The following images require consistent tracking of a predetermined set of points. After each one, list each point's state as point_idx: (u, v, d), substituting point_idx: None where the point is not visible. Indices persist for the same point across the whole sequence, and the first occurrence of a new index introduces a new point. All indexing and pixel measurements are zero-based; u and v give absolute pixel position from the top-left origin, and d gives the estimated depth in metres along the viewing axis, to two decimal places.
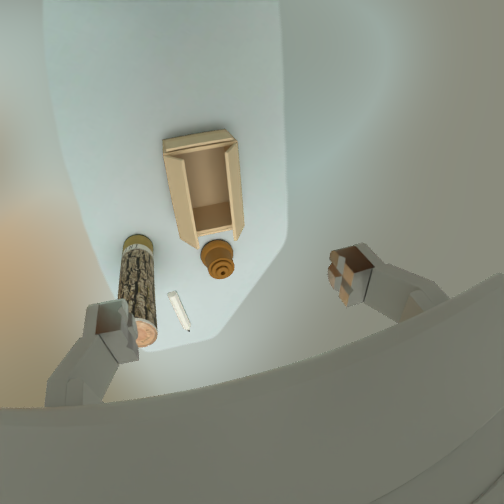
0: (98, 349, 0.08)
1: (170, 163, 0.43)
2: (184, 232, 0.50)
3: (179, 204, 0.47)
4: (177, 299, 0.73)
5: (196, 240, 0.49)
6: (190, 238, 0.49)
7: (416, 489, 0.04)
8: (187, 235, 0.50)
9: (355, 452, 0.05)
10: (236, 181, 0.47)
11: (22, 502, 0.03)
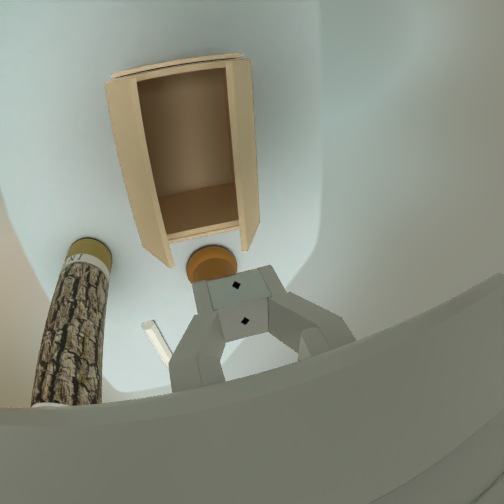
0: (216, 325, 0.09)
1: (114, 94, 0.18)
2: (146, 235, 0.25)
3: (132, 178, 0.22)
4: (157, 332, 0.48)
5: (167, 251, 0.24)
6: (156, 246, 0.25)
7: (416, 489, 0.04)
8: (151, 240, 0.25)
9: (354, 452, 0.04)
10: (248, 132, 0.22)
11: (22, 502, 0.03)
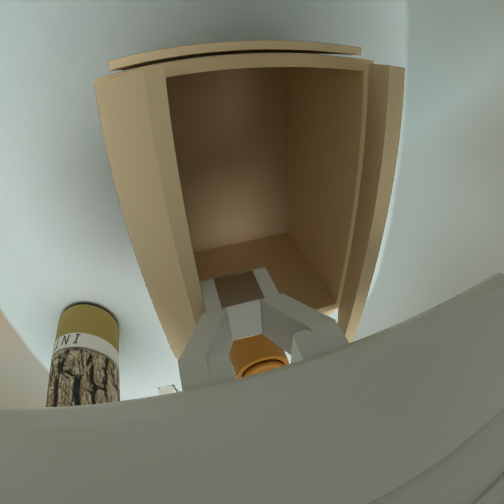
0: (225, 323, 0.09)
1: (110, 108, 0.08)
2: None
3: (158, 284, 0.12)
4: None
5: None
6: None
7: (416, 489, 0.04)
8: None
9: (355, 452, 0.04)
10: None
11: (22, 502, 0.03)
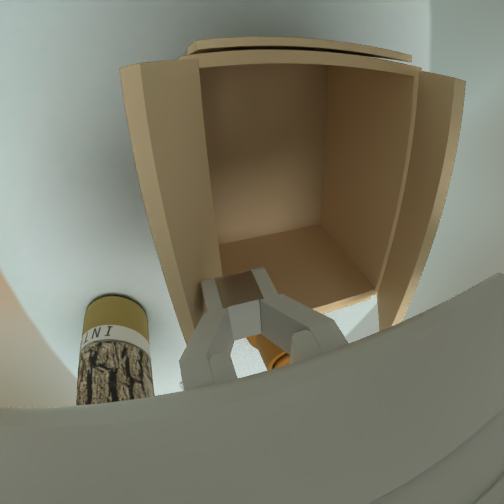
0: (226, 323, 0.09)
1: None
2: None
3: None
4: None
5: None
6: None
7: (416, 489, 0.04)
8: None
9: (354, 452, 0.04)
10: None
11: (22, 502, 0.03)
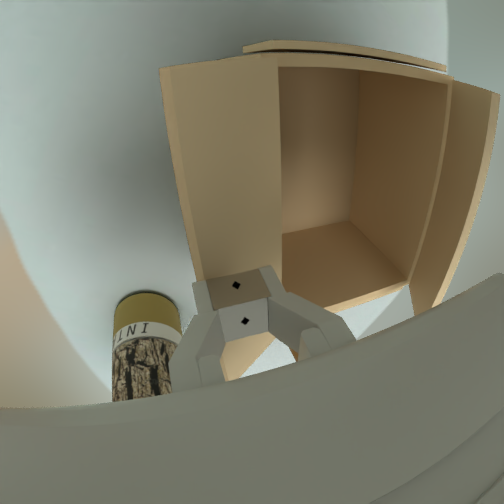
0: (216, 325, 0.09)
1: None
2: None
3: None
4: None
5: (222, 369, 0.15)
6: None
7: (416, 489, 0.04)
8: None
9: (354, 452, 0.04)
10: None
11: (22, 502, 0.03)
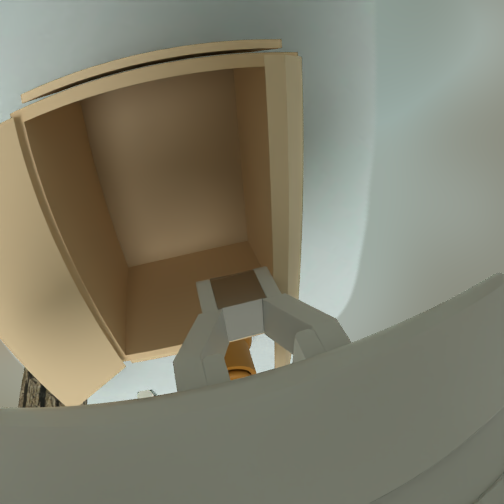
0: (220, 324, 0.09)
1: None
2: None
3: None
4: None
5: None
6: None
7: (416, 489, 0.04)
8: None
9: (355, 452, 0.04)
10: (297, 210, 0.11)
11: (22, 502, 0.03)
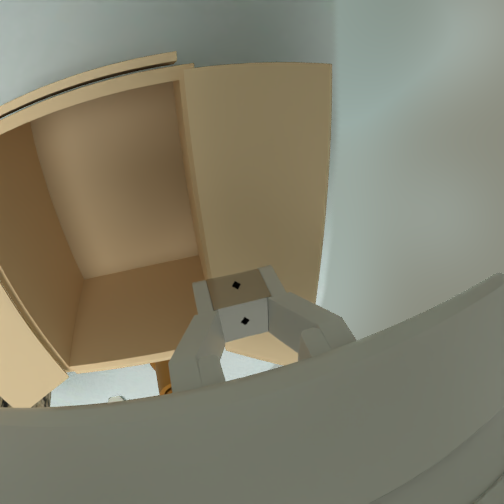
0: (216, 325, 0.09)
1: None
2: None
3: None
4: None
5: None
6: None
7: (416, 489, 0.04)
8: None
9: (354, 452, 0.04)
10: None
11: (22, 502, 0.03)
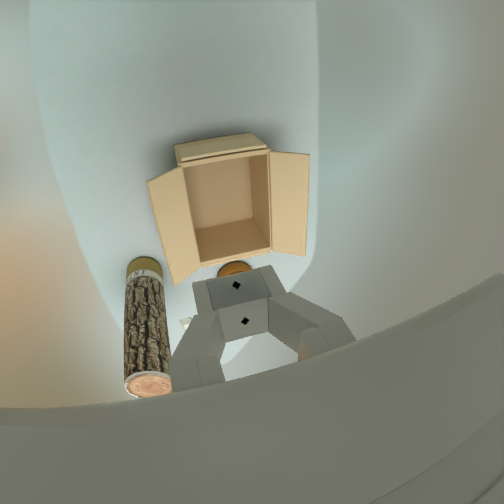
0: (216, 325, 0.09)
1: None
2: None
3: None
4: None
5: (171, 276, 0.40)
6: None
7: (416, 489, 0.04)
8: None
9: (355, 452, 0.05)
10: None
11: (22, 502, 0.03)
